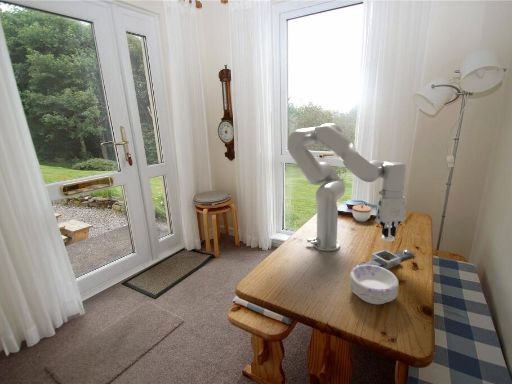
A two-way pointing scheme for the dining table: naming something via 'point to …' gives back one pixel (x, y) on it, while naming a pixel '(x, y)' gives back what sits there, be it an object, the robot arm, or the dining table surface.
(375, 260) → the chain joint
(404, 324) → the dining table surface
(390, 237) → the chess piece
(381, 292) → the paper bowls
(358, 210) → the lidded jar
